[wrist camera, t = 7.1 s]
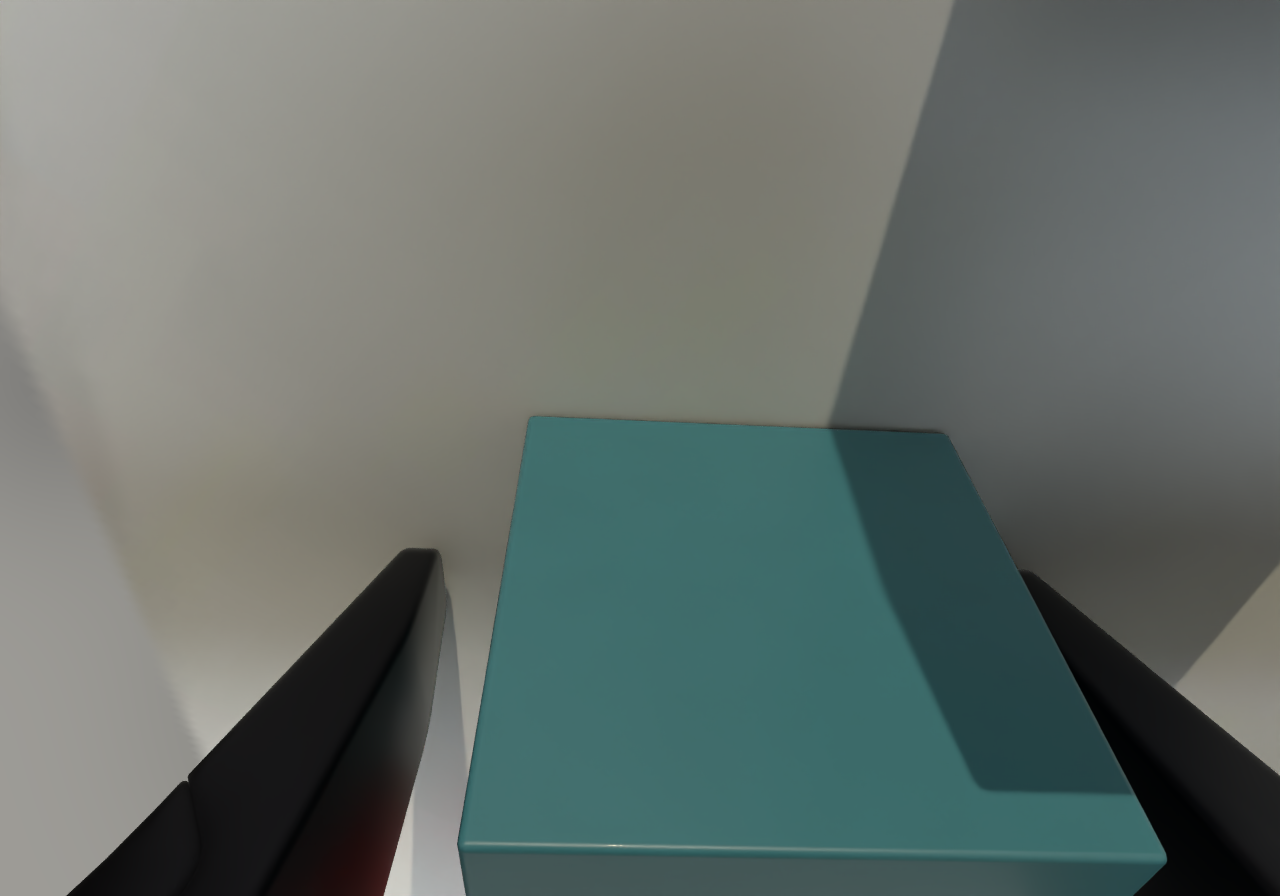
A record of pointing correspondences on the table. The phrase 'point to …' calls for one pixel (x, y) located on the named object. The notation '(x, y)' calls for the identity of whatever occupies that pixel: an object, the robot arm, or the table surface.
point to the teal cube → (778, 681)
